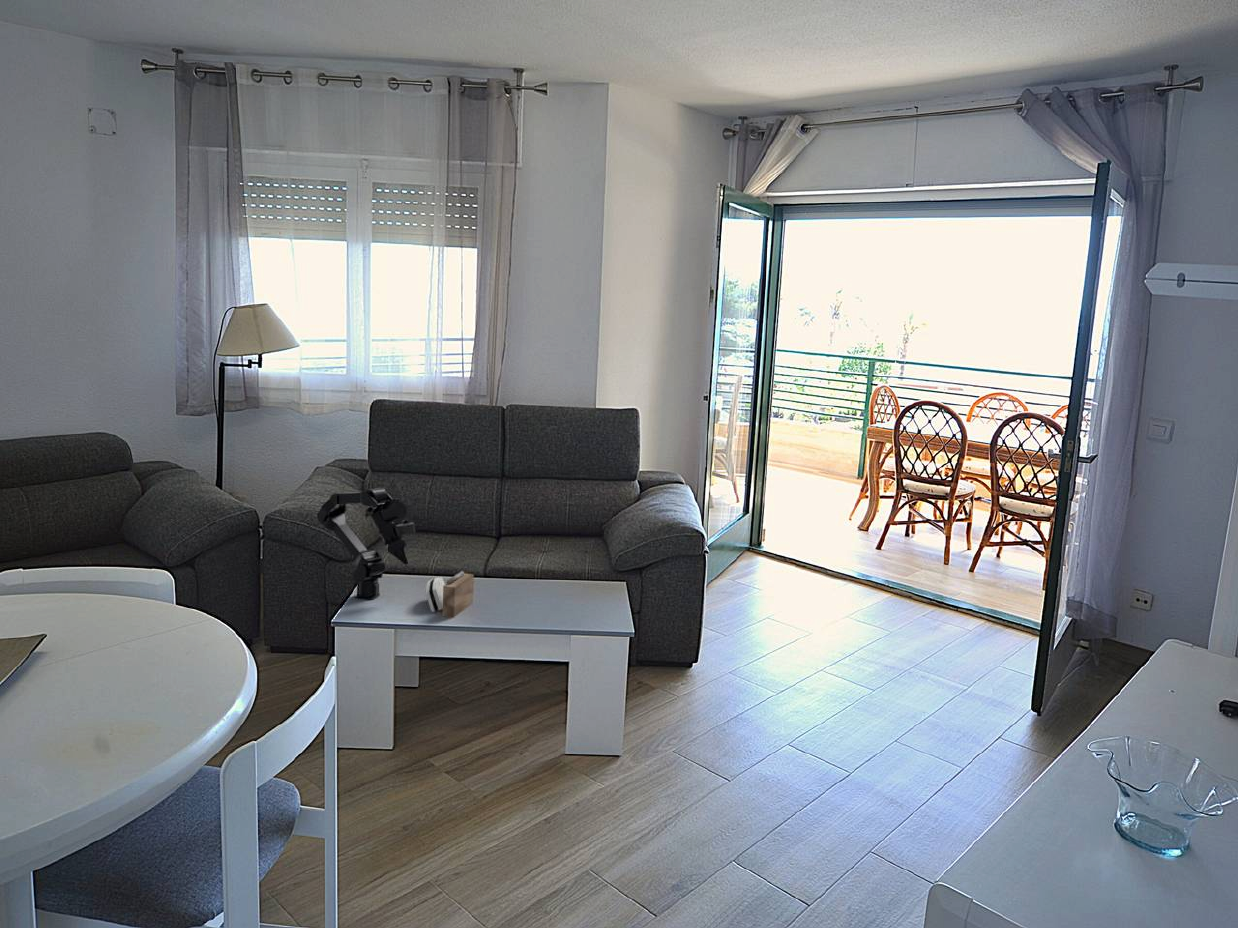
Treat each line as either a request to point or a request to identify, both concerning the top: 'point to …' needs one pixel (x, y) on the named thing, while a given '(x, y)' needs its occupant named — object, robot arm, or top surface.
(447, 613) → the tan flat boxy piece
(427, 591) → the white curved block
